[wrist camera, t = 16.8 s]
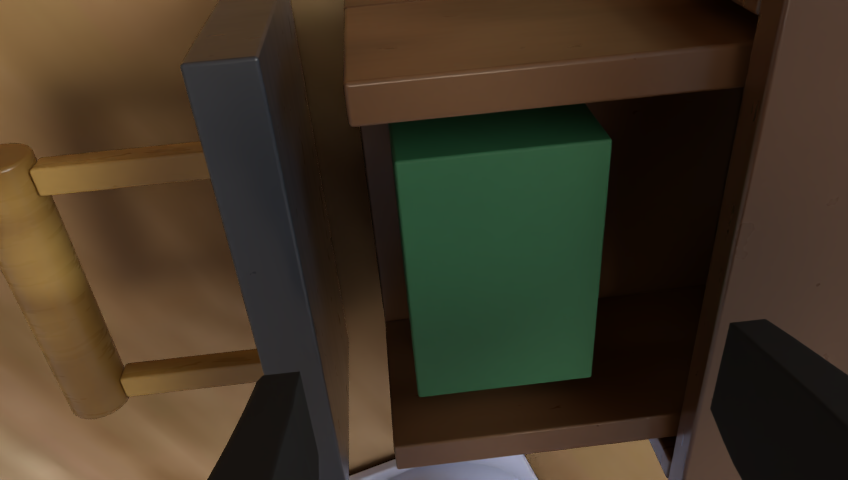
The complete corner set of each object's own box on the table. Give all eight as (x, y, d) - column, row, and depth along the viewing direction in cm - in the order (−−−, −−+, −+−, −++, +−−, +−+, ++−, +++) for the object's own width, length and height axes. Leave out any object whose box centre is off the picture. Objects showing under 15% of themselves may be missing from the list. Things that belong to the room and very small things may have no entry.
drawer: (136, 362, 21) (75, 532, 16) (-11, -1, 15) (-176, 98, 10) (707, 297, 22) (809, 442, 17) (782, -75, 16) (970, -14, 11)
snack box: (406, 291, 19) (418, 398, 16) (383, 82, 16) (393, 162, 12) (549, 275, 19) (592, 378, 16) (558, 64, 16) (613, 138, 13)
